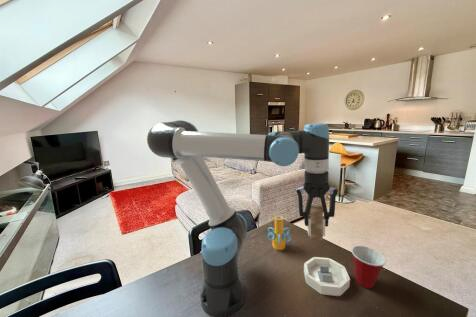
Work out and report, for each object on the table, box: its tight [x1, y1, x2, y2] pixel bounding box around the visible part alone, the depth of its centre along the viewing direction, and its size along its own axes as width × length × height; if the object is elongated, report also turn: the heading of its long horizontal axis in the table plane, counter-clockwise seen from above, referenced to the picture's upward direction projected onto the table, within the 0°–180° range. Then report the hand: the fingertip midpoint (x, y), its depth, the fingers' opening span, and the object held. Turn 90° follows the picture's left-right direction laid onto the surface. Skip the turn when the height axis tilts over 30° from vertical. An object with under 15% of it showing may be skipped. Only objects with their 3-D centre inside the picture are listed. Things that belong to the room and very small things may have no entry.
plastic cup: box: [351, 244, 387, 289], centre depth 77 cm, size 11×11×12 cm
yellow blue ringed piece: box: [267, 215, 292, 251], centre depth 100 cm, size 12×10×15 cm
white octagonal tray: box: [303, 256, 351, 297], centre depth 81 cm, size 15×15×4 cm
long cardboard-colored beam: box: [309, 204, 324, 241], centre depth 75 cm, size 4×2×12 cm, turn 80°
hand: (316, 233), depth 76 cm, fingers closed on long cardboard-colored beam, 4 cm apart
